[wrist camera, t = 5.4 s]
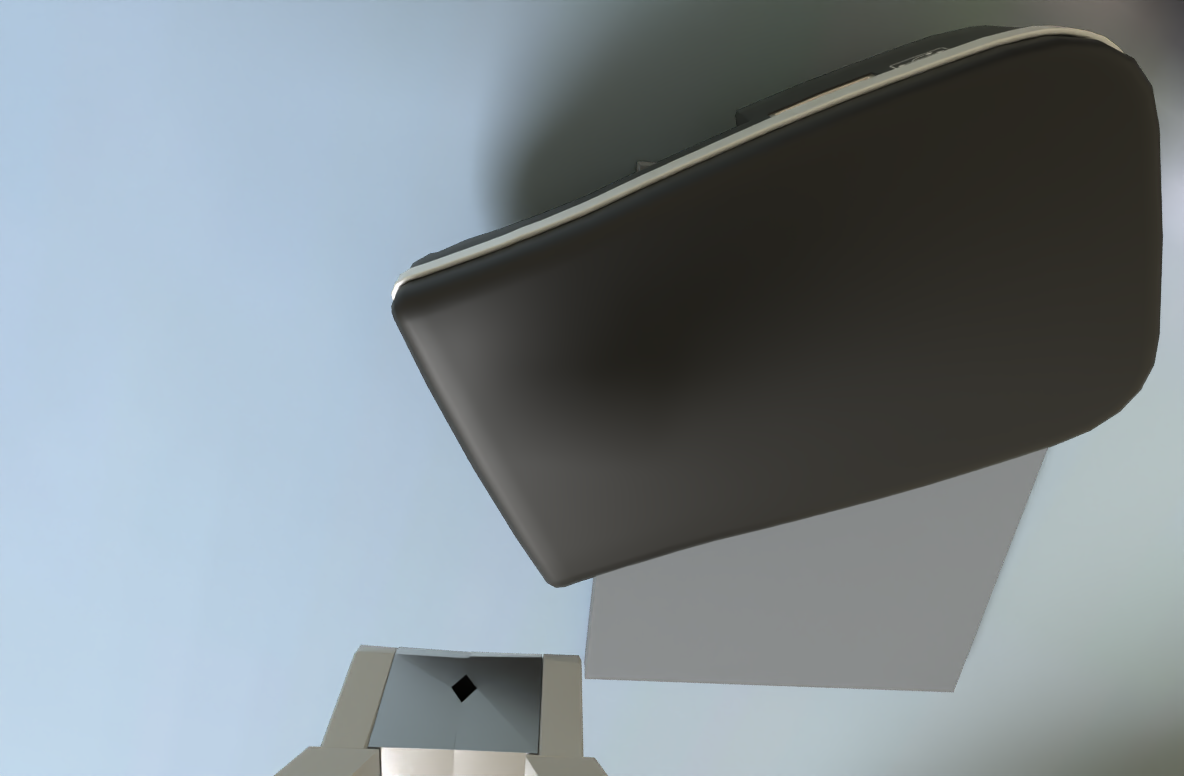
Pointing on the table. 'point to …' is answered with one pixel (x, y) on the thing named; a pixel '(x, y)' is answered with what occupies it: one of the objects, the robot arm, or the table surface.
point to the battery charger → (810, 302)
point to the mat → (820, 593)
